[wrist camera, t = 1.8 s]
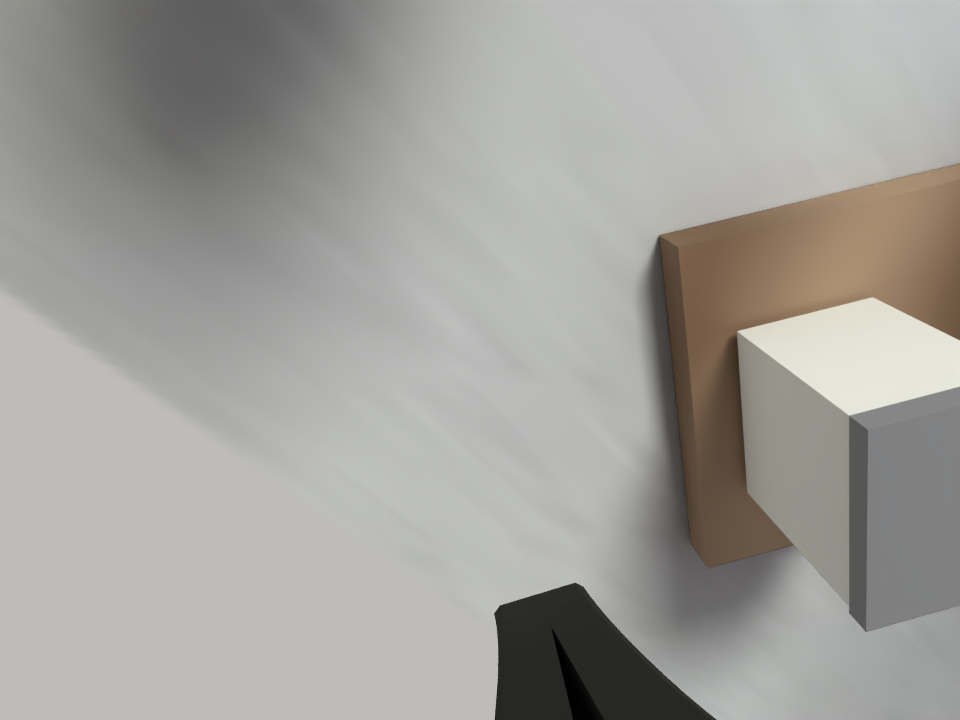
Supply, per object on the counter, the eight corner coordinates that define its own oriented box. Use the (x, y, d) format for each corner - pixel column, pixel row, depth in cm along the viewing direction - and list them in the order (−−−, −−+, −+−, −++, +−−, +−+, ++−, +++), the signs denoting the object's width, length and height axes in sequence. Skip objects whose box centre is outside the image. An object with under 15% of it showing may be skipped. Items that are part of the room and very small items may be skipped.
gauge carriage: (874, 294, 17) (1052, 381, 12) (871, 519, 19) (1020, 654, 15) (734, 329, 16) (867, 430, 12) (748, 552, 19) (865, 700, 15)
